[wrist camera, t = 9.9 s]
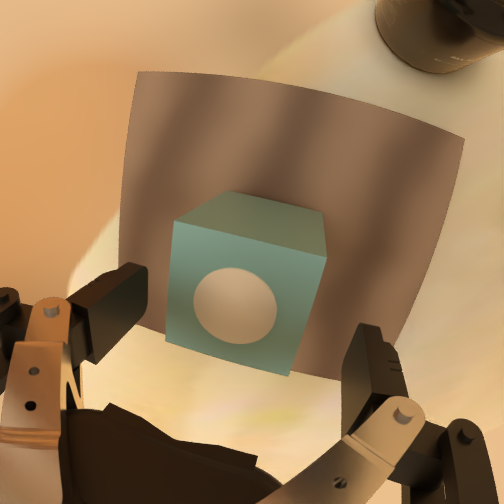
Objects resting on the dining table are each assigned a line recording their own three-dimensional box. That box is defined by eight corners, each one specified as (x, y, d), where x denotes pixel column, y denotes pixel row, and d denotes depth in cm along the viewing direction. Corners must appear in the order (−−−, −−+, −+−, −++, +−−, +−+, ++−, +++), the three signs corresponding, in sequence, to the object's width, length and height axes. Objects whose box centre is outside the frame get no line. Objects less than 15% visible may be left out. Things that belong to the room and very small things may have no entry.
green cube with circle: (322, 212, 16) (327, 260, 10) (299, 298, 18) (287, 379, 11) (227, 190, 17) (171, 221, 10) (213, 276, 19) (163, 343, 12)
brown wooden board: (451, 138, 16) (533, 142, 8) (369, 369, 22) (380, 459, 14) (152, 76, 18) (65, 52, 10) (131, 306, 24) (69, 368, 16)
